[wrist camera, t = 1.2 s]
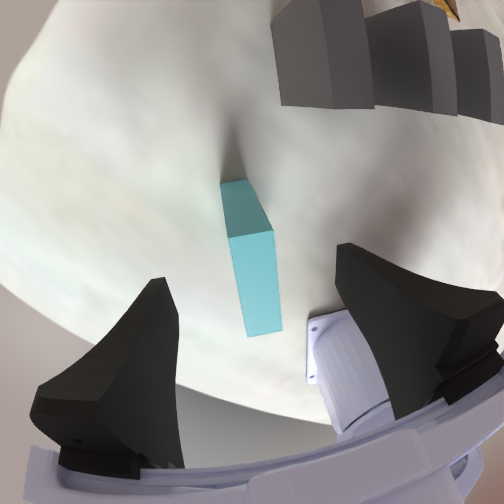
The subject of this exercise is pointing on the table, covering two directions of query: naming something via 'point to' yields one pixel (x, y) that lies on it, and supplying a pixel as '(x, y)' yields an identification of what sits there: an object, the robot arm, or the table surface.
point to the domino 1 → (252, 258)
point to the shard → (449, 8)
